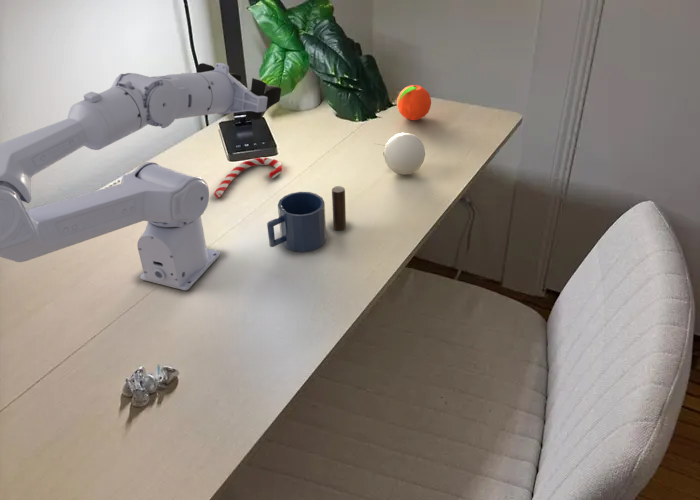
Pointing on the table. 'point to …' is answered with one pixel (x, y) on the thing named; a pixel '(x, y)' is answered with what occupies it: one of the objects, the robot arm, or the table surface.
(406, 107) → the clementine
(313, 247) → the mug
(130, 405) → the table surface
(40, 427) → the table surface
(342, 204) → the stick
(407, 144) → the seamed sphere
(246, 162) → the candy cane
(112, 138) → the robot arm
